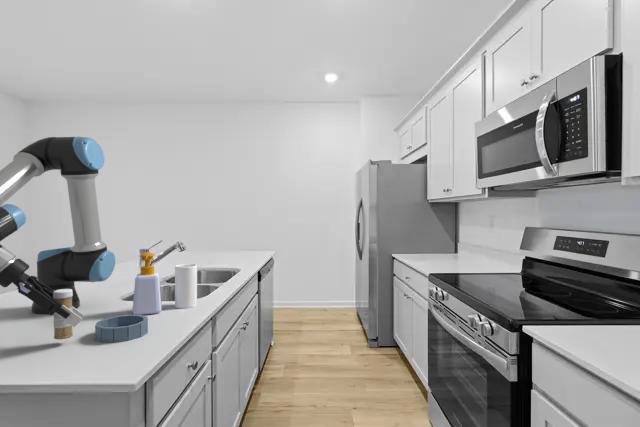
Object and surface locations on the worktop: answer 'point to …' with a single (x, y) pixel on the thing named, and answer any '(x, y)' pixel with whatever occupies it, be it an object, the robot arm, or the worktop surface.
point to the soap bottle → (147, 289)
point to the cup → (185, 286)
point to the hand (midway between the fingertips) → (79, 320)
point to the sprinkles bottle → (60, 325)
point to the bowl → (121, 328)
